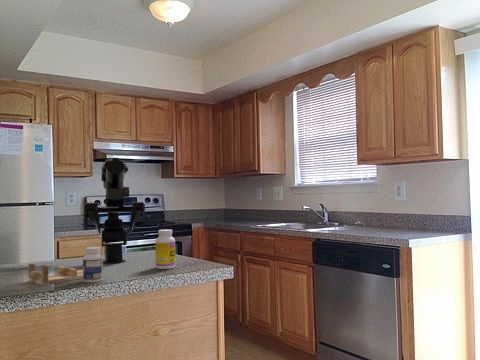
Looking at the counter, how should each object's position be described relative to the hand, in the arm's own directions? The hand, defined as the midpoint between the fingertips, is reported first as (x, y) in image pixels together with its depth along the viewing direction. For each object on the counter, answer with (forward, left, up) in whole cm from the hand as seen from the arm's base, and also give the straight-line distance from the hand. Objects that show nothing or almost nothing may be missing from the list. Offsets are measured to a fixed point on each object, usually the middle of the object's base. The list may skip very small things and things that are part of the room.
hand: (115, 233), depth 134 cm
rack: (-8, -11, -13) cm, 19 cm away
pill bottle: (+2, -9, -13) cm, 16 cm away
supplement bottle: (+4, +18, -13) cm, 22 cm away
